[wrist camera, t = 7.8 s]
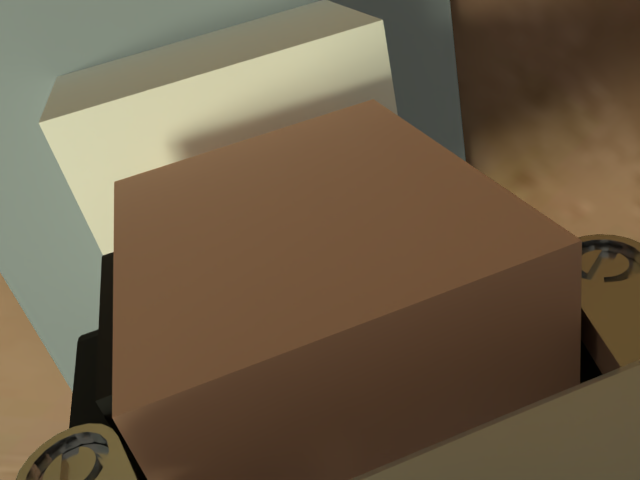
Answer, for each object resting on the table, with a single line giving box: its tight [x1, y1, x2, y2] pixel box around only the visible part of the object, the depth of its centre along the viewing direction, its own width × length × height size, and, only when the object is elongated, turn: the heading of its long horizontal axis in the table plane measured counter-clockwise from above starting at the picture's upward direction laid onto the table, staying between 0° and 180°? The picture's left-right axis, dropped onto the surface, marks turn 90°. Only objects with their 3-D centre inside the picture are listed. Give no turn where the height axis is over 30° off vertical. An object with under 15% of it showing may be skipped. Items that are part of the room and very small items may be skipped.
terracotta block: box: [112, 99, 582, 480], centre depth 10 cm, size 5×5×6 cm
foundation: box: [0, 0, 466, 392], centre depth 15 cm, size 14×12×5 cm
